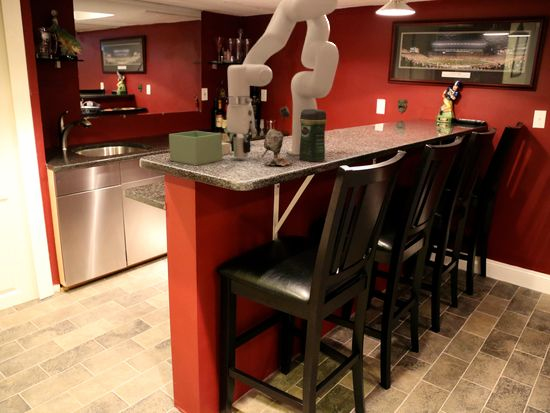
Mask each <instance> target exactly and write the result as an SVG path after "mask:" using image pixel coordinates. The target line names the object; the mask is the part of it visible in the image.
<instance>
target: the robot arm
mask: <svg viewBox="0 0 550 413" xmlns="http://www.w3.org/2000/svg"><path fill="white" fill-rule="evenodd" d="M338 2H339V0H280V1H279V4H278V5H277V7H276V8H275V11H274V13H273V15H272V17H271V18H270V22H269V23H268V25H267V27H266V29H265V32H264V33H263V34H262V36H260V38H259V39H258V40H257V41H256V43H255V44H254V45H253V46H252V47H251V49H250V50H249V51H248V53H247V54H246V57H245V58H244V60H243V62H242V64H231V65H229V66H228V67H227V89H228V91H227V93H228V94H227V95H228V104H227V108H226V126H225V127H224V129H223V131H224V133H225V134H226V135H227V137H228V138H229V141H230V152H234V144H233V137H237V134H238V133H239V134H243V137H244V141H245V142H244V143H243V149H244V153H248V154H249V153H251V145H250V141H251V142H252V141H253V139H254V137H256V135H257V134H258V130H256V123H255V114H254V108H253V106H252V104H251V105H250V102H251V103H252V101H253V99H252V98H251V96H250V94H251V91H250V90H251V89H250V88H251V87H250V86H252V87H264V86H267V85H268V84H270V83H271V81H272V79H273V71H272V69H271V68H270V67H269V66H268V65H265V63H266V62H267V60H269V59H270V57H271V56H273V55H275V54H276V53H278V52H280V51H281V50H282V49H283V48H284V47H286V44H287V42H288V41H289V39H290V36H291V35H292V32H293V30H294V28H295V27H296V24H297V23H300V22H304V21H305V22H306V25H307V28H306V29H307V30H306V35H305V40H304V44H303V47H302V52H301V58H300V60H301V64H302V65H303V67H305V68H306V69H310V70H309V71H308V70H304V71H299V72H297V73H295V74H294V76H293V77H292V79H291V83H290V91H291V96H292V127H291V128H292V129H291V131H292V132H291V148H289V149H287V154H289V155H293V156H299V151H300V139H301V122H300V116H301V112H302V111H303V110H305V109H317V110H318V104H317V100H316V99H322V98H325V97H327V96H328V95H329V93H331V90H332V87H333V84H334V81H335V76H336V72H337V68H338V65H339V58H340V54H339V49H338V47H337V45H336V44H334V43H333V42H331V41H329V37H330V32H331V29H330V28H331V27H330V22H329V20H328V18H327V15H329V14H332V12H334V11H335V10H336V9H337V7H338ZM312 70H313V71H312ZM250 133H251V134H250ZM247 136H248V137H247Z"/></svg>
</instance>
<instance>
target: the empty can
mask: <svg viewBox="0 0 550 413" xmlns="http://www.w3.org/2000/svg"><path fill="white" fill-rule="evenodd" d="M244 142H245V141H244V137H243V136H237V137H233V144H234V151H233V157H234V158H237V159H238V158H239V159H240V158H241V159H242V158H248V157H249V152H248V153H244V149H243V143H244Z"/></svg>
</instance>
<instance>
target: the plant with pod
mask: <svg viewBox="0 0 550 413" xmlns="http://www.w3.org/2000/svg"><path fill="white" fill-rule="evenodd" d="M279 113H280V116H281V118H282V122H281V131H279V130H276V129H274V128H270V129H269V130H268V131H267V133H266V135H265V138H264V140H263V147H264V149H265V151H264V153H262V155H261V158H264V156H265V155H266V154H267V153H268V151H270V152H272V153H273V158H272V160H271V161H269V162H267V163H265V165H267V166H275V165H279V166H283V167H285V166H287V165H288V164H289V165H293V162H289V161H287V160H286V158H285V157H281V155H280V153H281V150H282V147H283V143H284V142H283V141H284V134H283V129H284V123H285V118H288V119H291V115H290V114H291V113H290V111H289V108H288V107H287V106H284V107H281V108H280V109H279Z"/></svg>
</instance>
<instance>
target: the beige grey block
mask: <svg viewBox="0 0 550 413" xmlns="http://www.w3.org/2000/svg"><path fill="white" fill-rule="evenodd" d="M229 154H231V142H223V141H222V156H223V155H229Z"/></svg>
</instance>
